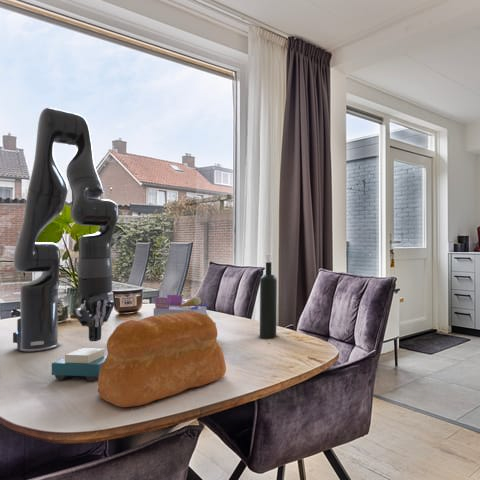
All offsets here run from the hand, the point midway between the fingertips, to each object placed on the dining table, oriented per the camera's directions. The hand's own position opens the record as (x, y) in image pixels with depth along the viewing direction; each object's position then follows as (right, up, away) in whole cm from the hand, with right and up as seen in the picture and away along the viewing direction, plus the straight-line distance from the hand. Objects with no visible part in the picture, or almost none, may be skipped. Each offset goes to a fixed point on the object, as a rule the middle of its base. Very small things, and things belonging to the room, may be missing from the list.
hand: (95, 340), depth 107 cm
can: (+4, -8, +42) cm, 43 cm away
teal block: (0, -5, 0) cm, 5 cm away
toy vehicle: (+10, -8, +33) cm, 35 cm away
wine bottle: (+37, -8, +38) cm, 54 cm away
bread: (+23, -9, -10) cm, 27 cm away
